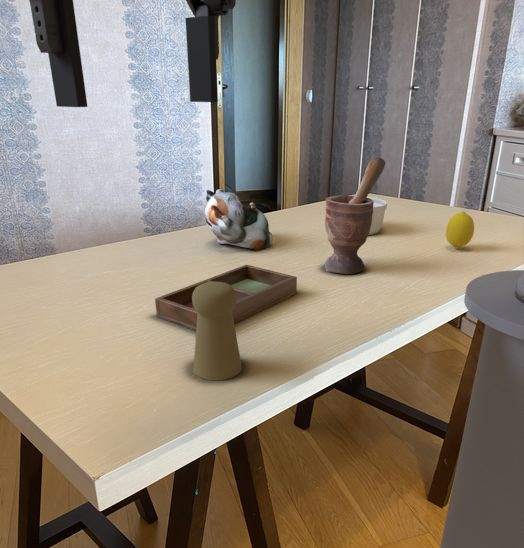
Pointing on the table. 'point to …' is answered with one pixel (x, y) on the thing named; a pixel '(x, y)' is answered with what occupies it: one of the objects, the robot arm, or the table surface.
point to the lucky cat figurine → (236, 221)
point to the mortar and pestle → (351, 222)
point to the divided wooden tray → (248, 287)
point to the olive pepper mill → (215, 332)
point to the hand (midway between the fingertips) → (145, 104)
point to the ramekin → (377, 214)
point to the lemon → (460, 230)
